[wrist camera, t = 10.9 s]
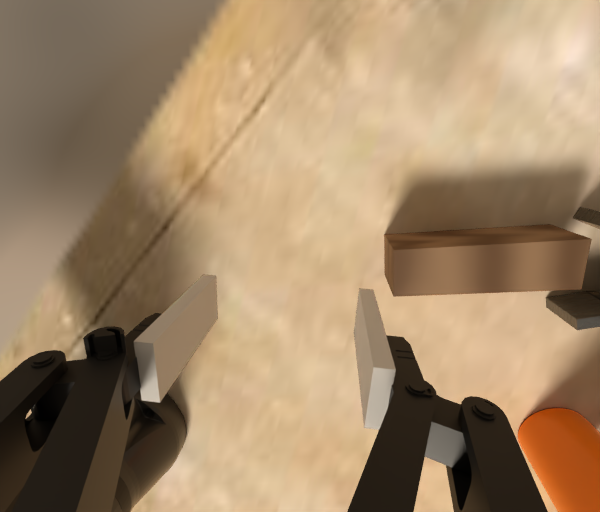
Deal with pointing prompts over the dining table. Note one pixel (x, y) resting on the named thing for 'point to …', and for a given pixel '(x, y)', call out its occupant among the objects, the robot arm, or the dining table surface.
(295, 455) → the dining table surface
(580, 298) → the end cap
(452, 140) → the dining table surface
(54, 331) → the dining table surface
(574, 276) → the brown wooden block
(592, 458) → the shaker bottle
